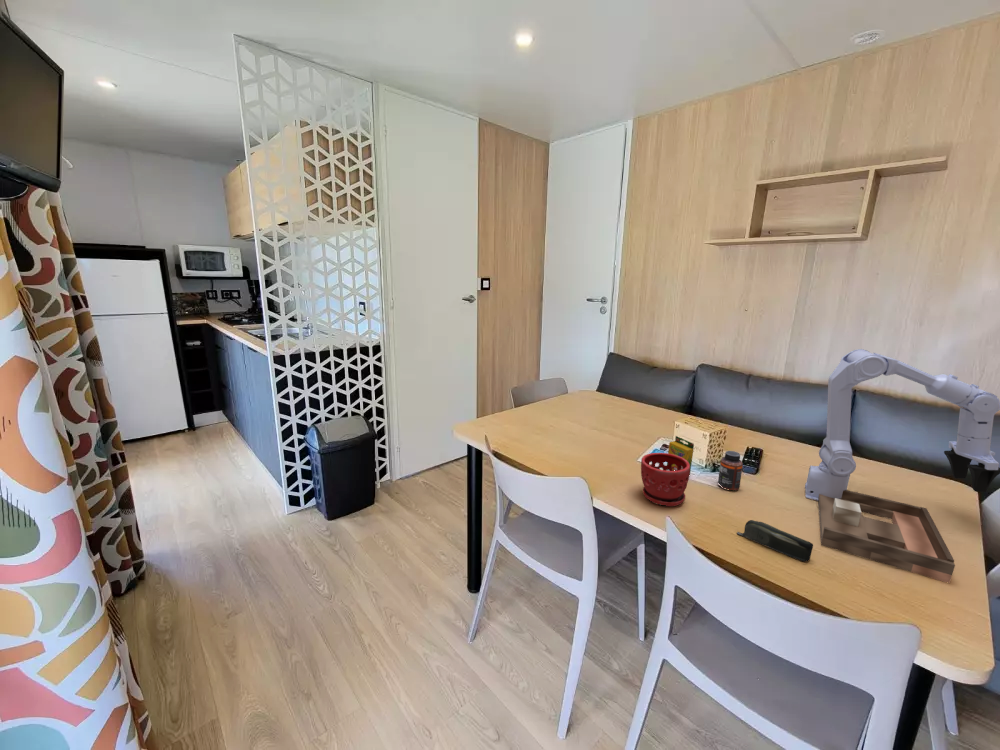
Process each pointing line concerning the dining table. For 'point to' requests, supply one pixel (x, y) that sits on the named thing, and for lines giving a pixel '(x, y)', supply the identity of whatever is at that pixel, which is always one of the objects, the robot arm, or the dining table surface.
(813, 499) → the robot arm
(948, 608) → the dining table surface
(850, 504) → the block
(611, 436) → the dining table surface
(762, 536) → the mobile phone
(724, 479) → the supplement bottle
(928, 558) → the frame
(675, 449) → the crayon box
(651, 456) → the plant pot
